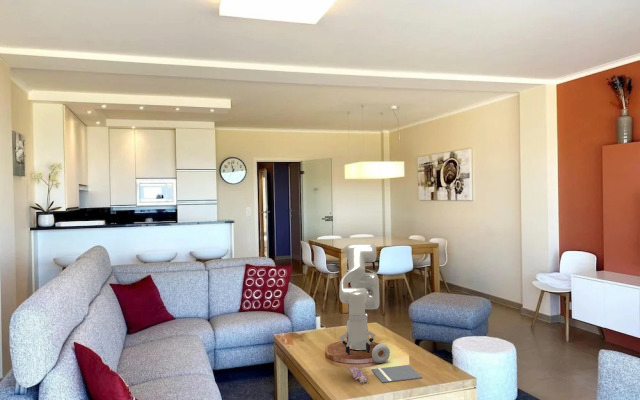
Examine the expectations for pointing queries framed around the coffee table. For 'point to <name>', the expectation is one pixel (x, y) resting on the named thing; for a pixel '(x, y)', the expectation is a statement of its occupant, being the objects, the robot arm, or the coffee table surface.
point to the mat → (396, 373)
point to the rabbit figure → (359, 375)
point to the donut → (376, 350)
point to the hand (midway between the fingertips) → (358, 353)
